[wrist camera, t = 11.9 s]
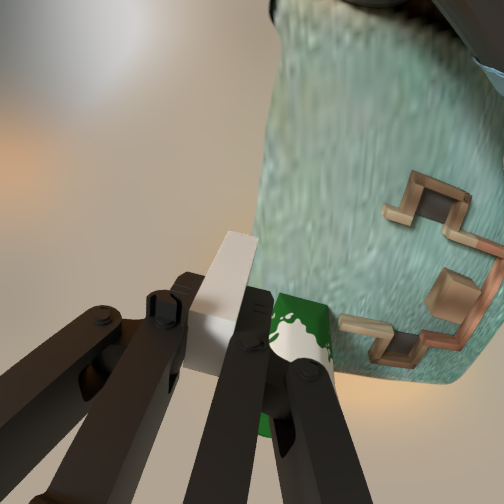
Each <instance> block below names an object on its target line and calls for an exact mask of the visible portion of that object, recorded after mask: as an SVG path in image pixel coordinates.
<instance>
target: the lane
mask: <svg viewBox="0 0 504 504" xmlns="http://www.w3.org/2000/svg"><path fill="white" fill-rule="evenodd" d="M380 212H381V213H382V215H383V216H384V218H385V219H389V220H392V221H395V222H398V223H402V224H405V225H408V226H410V225H411V222H412V219H413V217H411V216H408V215H405V214H404V213H403V212H402V211H401V209H400V208H398V207H395V206H391V205H388V204H385V203H383V205H382V208H381V211H380ZM441 232H442V233H443V234H444V235H445V236H446V237H447V238H448V239H451V240H454V241H457V242H459V243H462V244H465V245H468V246H471V247H474V248H476V249H479V250H482V251H485V252H487V253H490V254H493V255H495V256H497V258H496V260H495V262H494V264H493V266H492V268H491V270H490V272H489V274H488V276H487V278H486V280H485V282H484V284H483V286H482V288H481V290H480V291H481V294H480V295H479V297H478V299H477V300H476V302H475V303H474V305H473V307H472V308H471V310H470V311H469V313H468V314H467V316H466V317H465V319H464V320H463V322H462V324H461V325H460V327H459V329H458V330H457V332H456V333H455V335H454V336H453V335H448V334H442V333H437V332H431V331H426V330H422V331H421V333H420V334H419V337H420V339H421V342H422V344H423V346H429V347H435V348H442V349H448V350H455V351H461V350H462V348H463V347H464V345H465V344H466V342H467V341H468V339H469V338H470V336H471V334H472V333H473V331H474V330H475V328H476V326H477V325H478V323H479V322H480V320H481V318H482V317H483V315H484V313H485V311H486V310H487V308H488V306H489V304H490V303H491V301H492V299H493V297H494V295H495V294H496V292H497V290H498V288H499V286H500V284H501V282H502V280H503V278H504V246H503V245H500V244H498V243H495V242H493V241H490V240H488V239H485V238H483V237H480V236H477V235H475V234H472V233H470V232H467V231H464V230H462V229H459V232H455V231H452V230H451V229H450V228H449V227H447V226H446V225H445V224H443V227H442V229H441ZM338 324H339V330H342V331H347V332H352V333H357V334H362V335H367V336H372V337H378V338H383V339H388V340H391V339H392V337H393V336H394V331H393V328H392V325H391V324H390V323H385V322H381V321H376V320H371V319H366V318H361V317H357V316H352V315H347V314H343V313H340V315H339V318H338Z"/></svg>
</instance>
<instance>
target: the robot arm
mask: <svg viewBox="0 0 504 504" xmlns="http://www.w3.org/2000/svg"><path fill="white" fill-rule="evenodd" d="M345 1H347V2H350V3H353V4H356V5H360V6H364V7H371V8H387V7H393V6H397V5H400V4H402V3H404V2H406V1H408V0H345ZM431 1H432V2H433V3H434V5H435V6H436V7H437V8H438V9H439V11H440V12H441V13H442V14H443V16H444V17H445V18H446V19H447V21H448V22H449V23H450V25H451V26H452V27H453V28H454V30H455V31H456V33H457V34H458V35H459V37H460V38H461V39H462V41H463V42H464V44H465V45H466V47H467V48H468V50H469V51H470V53H471V57H472V58H473V60H474V61H475V63H476V64H477V65H479V66H480V67H481V68H482V70H483V71H484V73H485V74H486V76H487V77H488V79H489V80H490V82H491V83H492V85H493V87H494V88H495V89H496V91H497V92H498V93H499V94H500V95H501V96H503V97H504V0H431ZM258 239H259V237H255V236H251V235H246V234H242V233H238V232H234V231H228V233H227V235H226V237H225V239H224V241H223V243H222V244H221V247H220V249H219V251H218V252H217V254H216V257H215V259H214V260H213V262H212V264H211V266H210V269H209V270H208V272H207V274H206V276H203V275H199V274H194V273H191V272H185V273H183V274H182V275H180V276H178V278H177V279H176V281H175V283H174V285H173V286H172V288H171V289H170V290H157V291H154V292H152V293H150V294H149V295H148V296H147V299H146V318H145V319H140V320H132V319H122V316H121V314H120V312H119V311H118V310H117V309H115V308H113V307H110V306H105V305H100V306H94V307H92V308H90V309H88V310H87V311H86V312H84V313H83V314H81V315H80V316H79V317H77V318H76V319H75V320H73V321H72V322H71V323H69V324H68V325H66V326H65V327H64V328H62V329H61V330H60V331H59V332H57V333H56V334H54V335H53V336H52V337H50V338H49V339H48V340H46V341H45V342H44V343H42V344H41V345H40V346H38V347H37V348H36V349H34V350H33V351H32V352H31V353H29V354H28V355H27V356H25V357H24V358H23V359H21V360H20V361H19V362H18V363H16V364H15V365H14V366H12V367H11V368H10V369H9V370H7V371H6V372H5V373H4V374H2V375H1V376H0V502H1V501H2V500H3V499H4V498H5V497H6V496H7V495H8V494H9V493H10V492H11V491H12V490H13V489H14V488H15V487H16V486H17V485H18V484H19V483H20V482H21V481H22V480H23V479H24V478H25V477H26V476H27V475H28V473H30V471H31V470H32V469H33V468H34V467H35V466H36V465H37V464H38V463H39V462H40V461H41V460H42V459H43V458H44V457H45V456H46V455H47V454H48V453H49V452H50V451H51V450H52V449H53V448H54V447H55V446H56V445H57V444H58V443H59V442H60V441H61V440H62V439H63V438H64V437H65V436H66V435H67V434H68V433H69V432H70V431H71V430H72V429H73V428H74V427H75V426H76V424H78V422H79V421H81V419H82V418H83V417H84V416H85V415H86V414H87V413H88V412H89V413H88V415H87V416H86V418H85V420H84V422H83V423H82V425H81V427H80V429H79V431H78V432H77V434H76V436H75V438H74V440H73V442H72V444H71V445H70V447H69V449H68V451H67V453H66V455H65V457H64V458H63V461H62V462H61V464H60V466H59V468H58V470H57V472H56V474H55V476H54V478H53V480H52V482H51V484H50V486H49V487H48V489H47V491H46V492H45V493H43V494H41V495H37V496H35V497H34V498H33V499H32V500H31V501H30V502H29V504H131V502H132V499H133V497H134V494H135V491H136V488H137V486H138V483H139V481H140V478H141V475H142V472H143V470H144V467H145V465H146V462H147V459H148V456H149V454H150V451H151V449H152V446H153V443H154V441H155V438H156V435H157V433H158V431H159V428H160V425H161V423H162V420H163V418H164V415H165V412H166V410H167V407H168V405H169V402H170V400H171V397H172V394H173V392H174V389H175V386H176V384H177V382H178V379H179V373H180V367H181V365H182V362H183V360H184V362H183V367H185V368H188V369H192V370H195V371H199V372H203V373H207V374H210V375H214V376H218V377H219V379H218V382H217V386H216V389H215V393H214V397H213V400H212V403H211V407H210V410H209V414H208V417H207V421H206V424H205V428H204V431H203V435H202V438H201V442H200V445H199V449H198V452H197V456H196V460H195V463H194V467H193V470H192V473H191V477H190V480H189V484H188V487H187V491H186V494H185V498H184V501H183V504H247V499H248V493H249V487H250V481H251V474H252V469H253V462H254V456H255V449H256V443H257V437H258V430H259V423H260V417H261V412H262V413H264V414H266V415H268V419H269V425H270V431H271V437H272V442H273V448H274V453H275V459H276V465H277V471H278V476H279V482H280V487H281V493H282V498H283V503H284V504H373V502H372V499H371V495H370V492H369V489H368V486H367V483H366V480H365V477H364V474H363V471H362V468H361V465H360V462H359V459H358V456H357V453H356V450H355V447H354V444H353V442H352V438H351V436H350V433H349V430H348V427H347V424H346V421H345V419H344V415H343V412H342V410H341V407H340V404H339V401H338V398H337V395H336V393H335V390H334V387H333V384H332V381H331V379H330V376H329V373H328V371H327V370H326V368H325V367H324V366H323V365H322V364H321V363H320V362H318V361H316V360H314V359H310V358H305V357H304V358H297V359H295V360H294V361H292V362H290V361H288V360H285V359H283V358H282V357H280V356H278V355H277V354H276V353H275V352H274V351H273V350H272V349H271V347H270V344H269V335H270V327H271V319H272V312H273V304H274V299H273V297H272V294H271V292H270V291H266V290H262V289H258V288H254V287H250V286H247V285H248V281H249V277H250V273H251V269H252V265H253V260H254V256H255V252H256V248H257V244H258Z"/></svg>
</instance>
